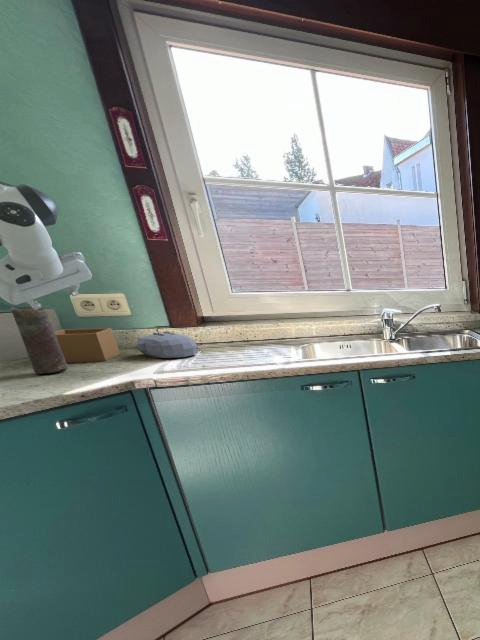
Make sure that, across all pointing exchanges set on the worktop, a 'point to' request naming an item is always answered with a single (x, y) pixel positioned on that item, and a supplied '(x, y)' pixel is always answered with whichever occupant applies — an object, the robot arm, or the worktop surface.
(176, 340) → the grey rounded bag
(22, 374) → the worktop surface
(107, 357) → the carton
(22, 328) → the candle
